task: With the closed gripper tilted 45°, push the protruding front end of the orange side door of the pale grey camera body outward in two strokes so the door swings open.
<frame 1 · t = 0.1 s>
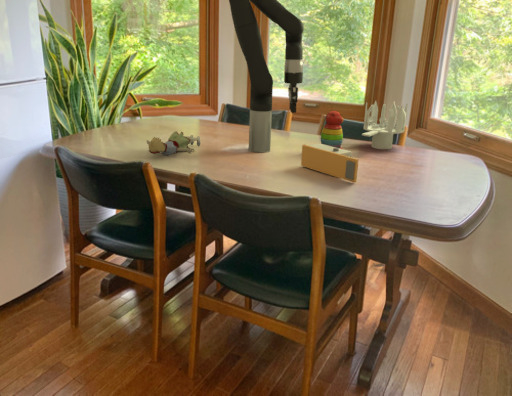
hand: (292, 111, 194), 17 cm above the table, fingers open, 8 cm apart
decorative object: (376, 149, 209), on the table
stacking bear: (331, 153, 200), on the table
side door: (327, 162, 165), point 4 cm above the table, hinge at 0.0°
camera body: (326, 169, 173), on the table
figurine: (175, 152, 192), on the table
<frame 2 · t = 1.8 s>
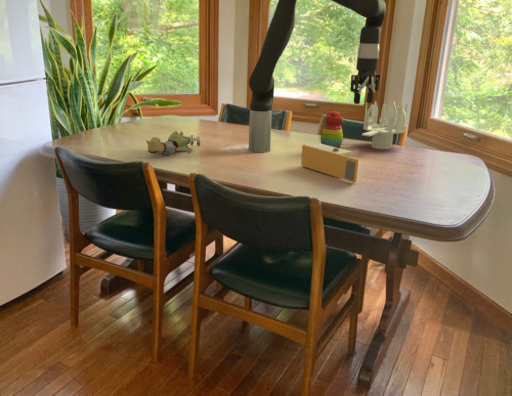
hand: (363, 103, 173), 24 cm above the table, fingers open, 7 cm apart
nothing on the table moved.
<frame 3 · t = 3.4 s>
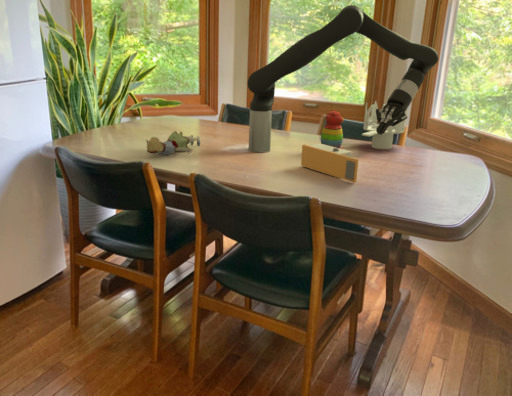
hand: (378, 133, 164), 15 cm above the table, fingers closed
nothing on the table moved.
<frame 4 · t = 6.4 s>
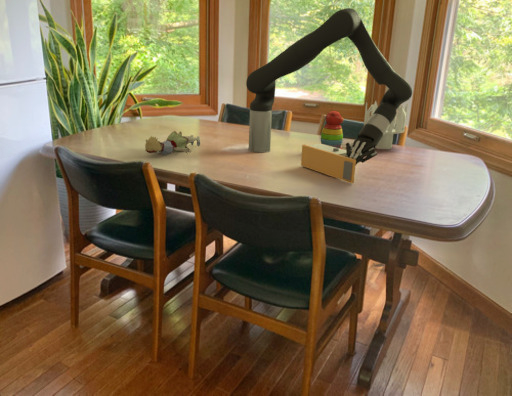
hand: (347, 169, 158), 4 cm above the table, fingers closed
side door: (325, 162, 164), point 4 cm above the table, hinge at 2.8°, touching gripper
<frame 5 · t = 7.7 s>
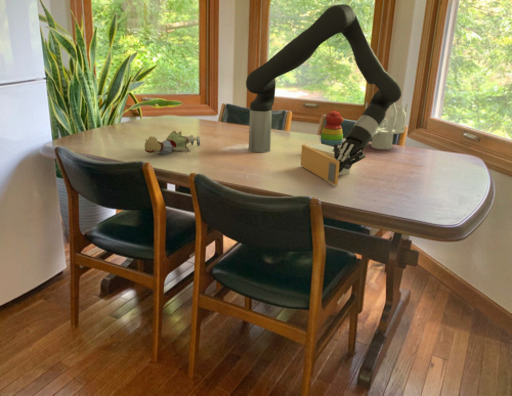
hand: (335, 171, 155), 4 cm above the table, fingers closed
side door: (317, 163, 163), point 4 cm above the table, hinge at 17.8°, touching gripper
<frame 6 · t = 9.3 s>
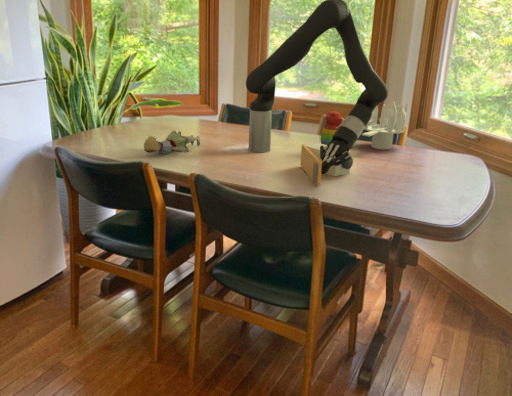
hand: (320, 172, 154), 4 cm above the table, fingers closed
side door: (309, 163, 163), point 4 cm above the table, hinge at 31.4°, touching gripper
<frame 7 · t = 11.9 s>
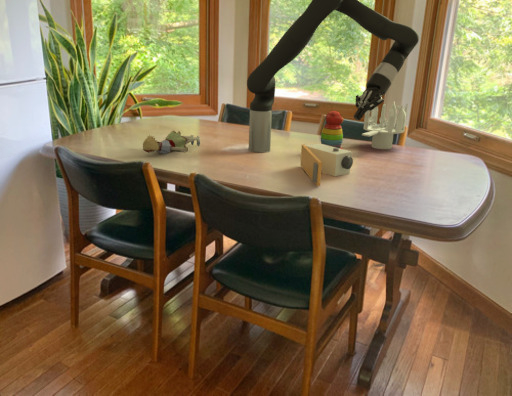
hand: (356, 118, 162), 20 cm above the table, fingers closed
side door: (309, 163, 163), point 4 cm above the table, hinge at 31.5°
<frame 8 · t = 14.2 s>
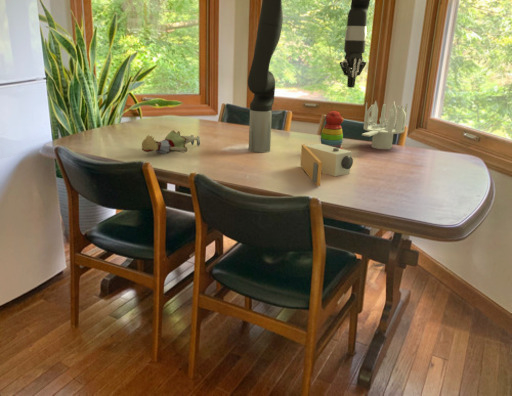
hand: (350, 87, 177), 29 cm above the table, fingers closed
at the end: side door at +32° (first picture: +0°) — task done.
